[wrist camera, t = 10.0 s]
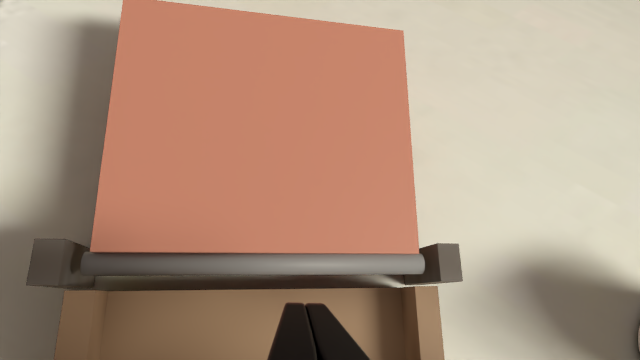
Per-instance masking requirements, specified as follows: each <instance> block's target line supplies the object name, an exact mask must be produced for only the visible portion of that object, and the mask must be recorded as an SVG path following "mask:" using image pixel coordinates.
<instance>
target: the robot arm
mask: <svg viewBox="0 0 640 360" xmlns="http://www.w3.org/2000/svg"><path fill="white" fill-rule="evenodd" d="M267 360H370V358H369V357H368V356H367V355H366V353H365V352H364V351H363V350H362V349H361V347H360V346H359V345H358V344H357V342H356V341H355V340H354V339H353V338H352V336H351V335H350V334H349V333H348V332H347V330H346V329H345V328H344V327H343V325H342V324H341V323H340V322H339V321H338V319H337V318H336V317H335V316H334V315H333V313H332V312H331V311H330V310H329V308H328V307H327V306H326V305H325V304H323V303H306V304H303V303H299V302H287V303H286V304H285V306H284V309H283V312H282V315H281V318H280V321H279V324H278V327H277V330H276V333H275V336H274V340H273V343H272V346H271V349H270V352H269V355H268V358H267Z"/></svg>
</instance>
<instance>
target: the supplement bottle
mask: <svg viewBox="0 0 640 360" xmlns="http://www.w3.org/2000/svg"><path fill="white" fill-rule="evenodd" d="M638 344H639V351H640V326H639V333H638Z"/></svg>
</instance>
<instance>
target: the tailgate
mask: <svg viewBox="0 0 640 360" xmlns="http://www.w3.org/2000/svg"><path fill="white" fill-rule="evenodd" d="M80 269H81V274H82V276H167V275H366V274H423V272H424V269H425V261H424V257H423V255H422V254H419V243H418V229H417V215H416V201H415V187H414V173H413V160H412V146H411V132H410V118H409V104H408V90H407V76H406V62H405V49H404V35H403V31H401V30H393V29H384V28H376V27H368V26H360V25H352V24H344V23H336V22H328V21H320V20H311V19H303V18H295V17H287V16H279V15H271V14H263V13H255V12H247V11H239V10H230V9H222V8H214V7H206V6H198V5H190V4H182V3H174V2H166V1H157V0H123V5H122V13H121V20H120V28H119V35H118V43H117V50H116V58H115V65H114V73H113V80H112V88H111V96H110V103H109V111H108V118H107V126H106V133H105V141H104V148H103V156H102V163H101V171H100V179H99V186H98V194H97V201H96V209H95V216H94V224H93V231H92V239H91V246H90V252H85V253H84V254H83V256H82V259H81V266H80Z"/></svg>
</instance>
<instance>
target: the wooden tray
mask: <svg viewBox="0 0 640 360" xmlns="http://www.w3.org/2000/svg"><path fill="white" fill-rule="evenodd" d="M85 252H90V248H88V247H85V246H82V245H80V244H77V243H74V242H72V241H69V240H66V239H34V245H33V250H32V256H31V261H30V267H29V272H28V278H27V283H26V285H30V286H43V287H56V288H93V286H94V278H95V276H82V274H81V269H80V266H81V259H82V256H83V254H84V253H85ZM419 254H422V255H423V257H424V261H425V269H424V272H423V274H404V276H405V285H426V284H437V283H449V282H460V281H463V279H462V270H461V262H460V253H459V244H441V243H437V244H434V245H430V246H427V247H423V248H420V249H419ZM287 302H299V303H303V304H306V303H323V304H325V305H326V306H327V307H328V308H329V310H330V311H331V312H332V313H333V315H334V316H335V317H336V318H337V319H338V321H339V322H340V323H341V324H342V325H343V327H344V328H345V329H346V330H347V332H348V333H349V334H350V335H351V336H352V338H353V339H354V340H355V341H356V342H357V344H358V345H359V346H360V347H361V349H362V350H363V351H364V352H365V353H366V355H367V356H368V357H369V358H370V360H444V350H443V339H442V329H441V318H440V308H439V298H438V287H437V286H416V287H403V288H332V289H249V290H166V291H100V290H69V291H64V297H63V303H62V310H61V316H60V323H59V329H58V335H57V342H56V348H55V355H54V360H267V358H268V355H269V352H270V349H271V346H272V343H273V340H274V336H275V333H276V330H277V327H278V324H279V321H280V318H281V315H282V312H283V309H284V306H285V304H286V303H287Z"/></svg>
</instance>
